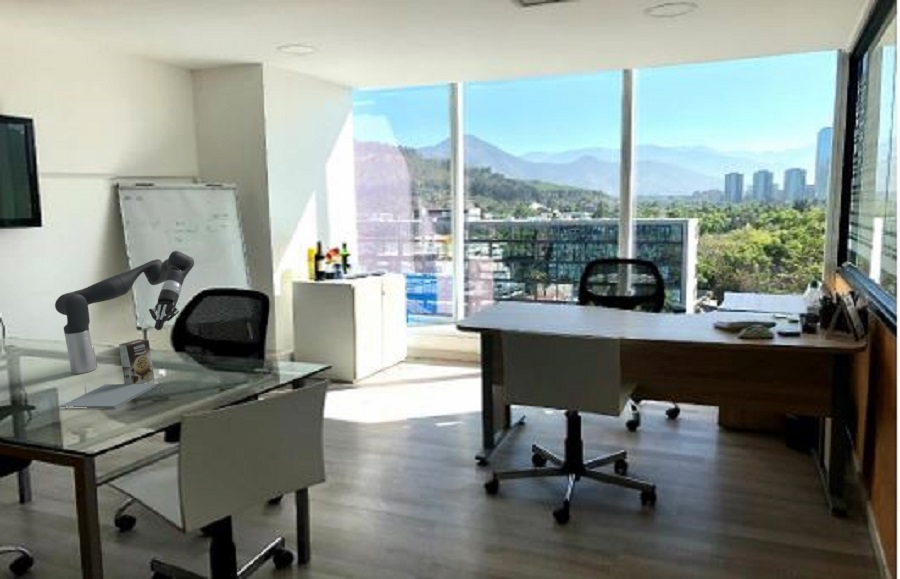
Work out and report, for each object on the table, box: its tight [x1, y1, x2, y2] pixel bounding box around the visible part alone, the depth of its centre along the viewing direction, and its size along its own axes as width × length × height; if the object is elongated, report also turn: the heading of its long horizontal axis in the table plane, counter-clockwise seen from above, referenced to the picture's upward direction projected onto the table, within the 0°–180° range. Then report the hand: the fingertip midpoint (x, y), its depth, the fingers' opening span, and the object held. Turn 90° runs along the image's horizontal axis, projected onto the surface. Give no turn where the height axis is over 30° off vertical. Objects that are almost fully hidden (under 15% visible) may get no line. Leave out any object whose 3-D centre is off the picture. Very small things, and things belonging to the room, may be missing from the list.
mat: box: [59, 383, 158, 410], centre depth 250 cm, size 24×22×1 cm
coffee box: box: [118, 338, 155, 384], centre depth 266 cm, size 9×6×16 cm
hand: (157, 329), depth 278 cm, fingers closed
